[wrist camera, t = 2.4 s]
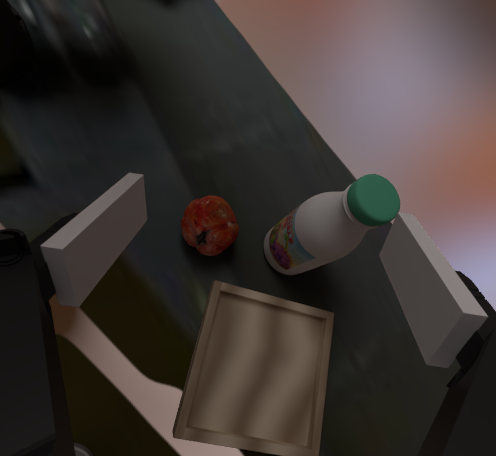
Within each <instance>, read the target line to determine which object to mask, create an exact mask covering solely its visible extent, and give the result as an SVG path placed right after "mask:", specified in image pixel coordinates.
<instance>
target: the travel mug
mask: <svg viewBox="0 0 496 456" xmlns="http://www.w3.org/2000/svg"><path fill="white" fill-rule="evenodd" d="M74 448H75V454H76V456H94V455H93V454H92V452H91V451H90V450H89V449H88V448H87V447H86V446H84V445H82V444H79V443H75V442H74Z"/></svg>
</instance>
